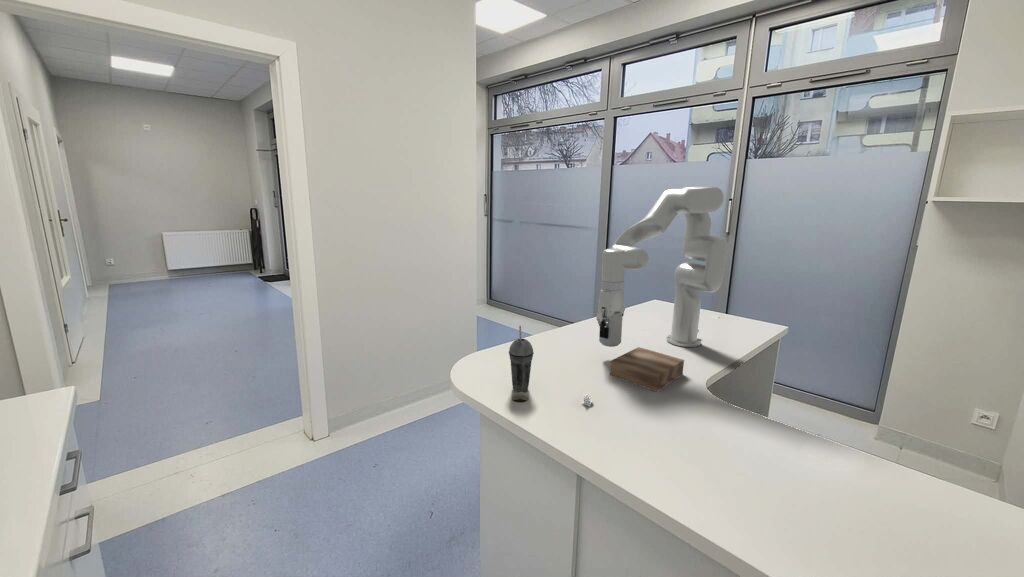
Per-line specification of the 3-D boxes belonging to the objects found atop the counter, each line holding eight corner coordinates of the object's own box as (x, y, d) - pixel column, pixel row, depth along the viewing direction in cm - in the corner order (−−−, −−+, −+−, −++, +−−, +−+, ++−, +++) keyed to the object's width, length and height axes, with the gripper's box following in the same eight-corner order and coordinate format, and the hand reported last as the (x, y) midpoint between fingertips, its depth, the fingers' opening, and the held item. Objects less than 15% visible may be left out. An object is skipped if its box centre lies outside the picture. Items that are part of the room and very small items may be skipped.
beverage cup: (536, 386, 127) (538, 323, 122) (526, 396, 120) (528, 330, 116) (514, 381, 130) (515, 319, 125) (503, 391, 123) (504, 326, 119)
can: (596, 340, 151) (597, 308, 148) (616, 339, 152) (618, 307, 149) (602, 348, 144) (604, 314, 141) (624, 347, 145) (625, 313, 142)
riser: (637, 360, 148) (638, 347, 147) (682, 374, 137) (684, 359, 136) (609, 375, 136) (610, 360, 134) (656, 391, 125) (658, 376, 124)
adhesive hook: (586, 402, 118) (587, 392, 118) (594, 405, 117) (595, 395, 116) (580, 406, 116) (581, 395, 116) (588, 409, 115) (588, 399, 114)
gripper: (616, 279, 152) (614, 326, 156) (588, 288, 140) (586, 338, 144) (635, 282, 146) (632, 331, 151) (608, 291, 134) (605, 343, 139)
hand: (610, 334), depth 147 cm, fingers closed on can, 7 cm apart
